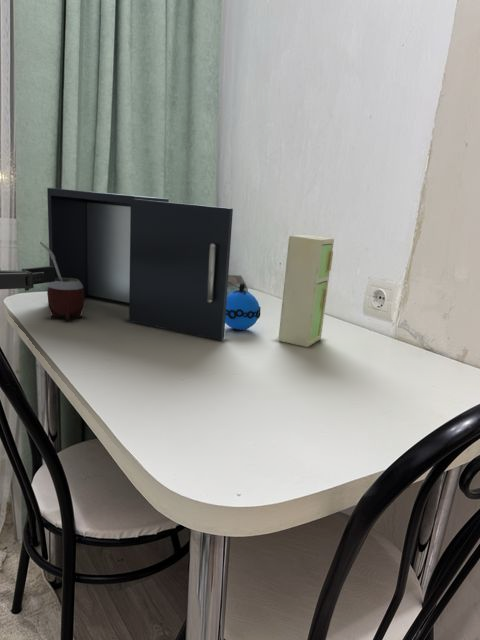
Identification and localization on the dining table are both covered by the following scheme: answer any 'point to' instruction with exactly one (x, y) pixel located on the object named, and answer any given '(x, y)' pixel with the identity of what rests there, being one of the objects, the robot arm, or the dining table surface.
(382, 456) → the dining table surface
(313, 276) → the toy refrigerator
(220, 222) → the sliding door cabinet
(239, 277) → the beverage carton
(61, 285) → the mate gourd
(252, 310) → the ornament
